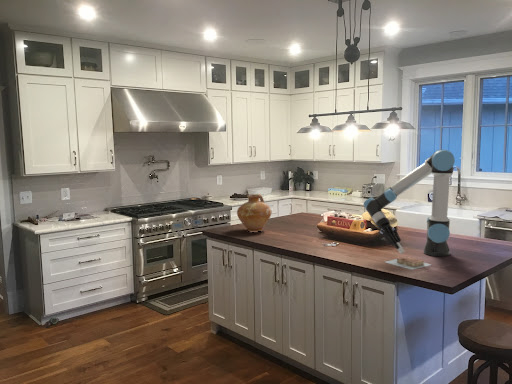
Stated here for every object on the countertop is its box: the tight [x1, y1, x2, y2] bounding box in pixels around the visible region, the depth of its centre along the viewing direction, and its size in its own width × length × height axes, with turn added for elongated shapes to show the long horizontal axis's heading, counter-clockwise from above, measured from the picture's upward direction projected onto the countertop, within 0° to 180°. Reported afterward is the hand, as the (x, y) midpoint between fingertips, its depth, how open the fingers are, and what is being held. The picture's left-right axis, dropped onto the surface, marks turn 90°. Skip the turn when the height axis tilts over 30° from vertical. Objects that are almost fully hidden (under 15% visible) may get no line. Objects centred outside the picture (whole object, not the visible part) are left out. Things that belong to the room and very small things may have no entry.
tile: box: [396, 256, 425, 267], centre depth 255 cm, size 2×8×12 cm
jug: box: [236, 193, 272, 232], centre depth 362 cm, size 28×28×30 cm
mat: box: [384, 258, 432, 271], centre depth 257 cm, size 20×17×1 cm
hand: (402, 252), depth 259 cm, fingers closed
